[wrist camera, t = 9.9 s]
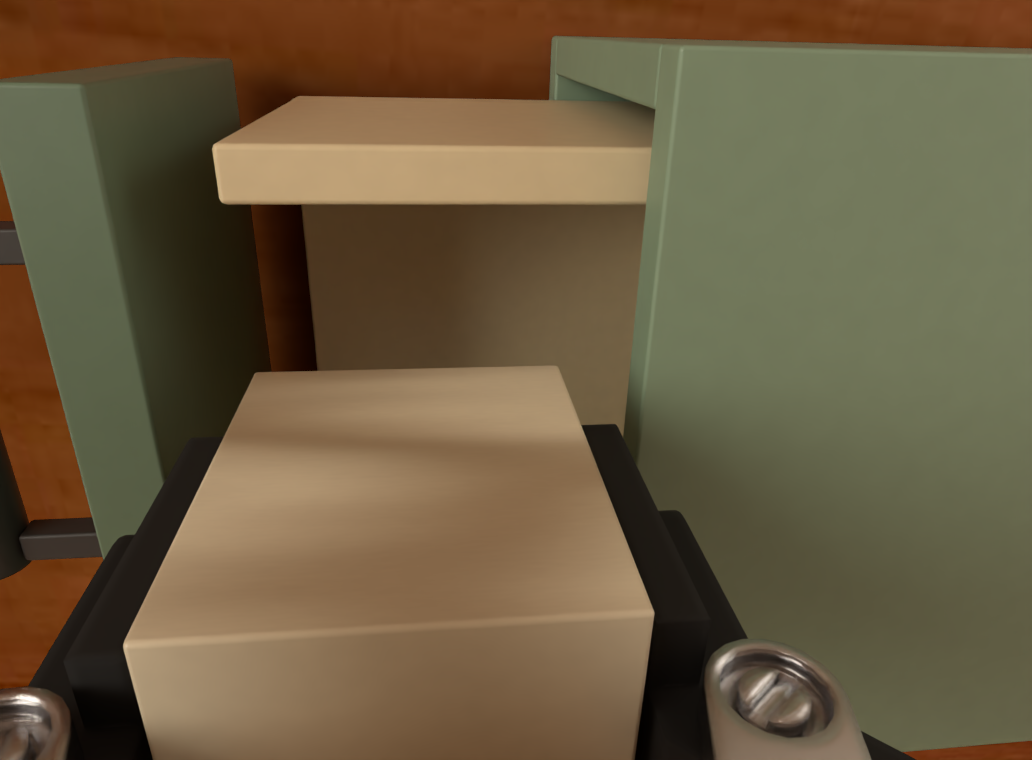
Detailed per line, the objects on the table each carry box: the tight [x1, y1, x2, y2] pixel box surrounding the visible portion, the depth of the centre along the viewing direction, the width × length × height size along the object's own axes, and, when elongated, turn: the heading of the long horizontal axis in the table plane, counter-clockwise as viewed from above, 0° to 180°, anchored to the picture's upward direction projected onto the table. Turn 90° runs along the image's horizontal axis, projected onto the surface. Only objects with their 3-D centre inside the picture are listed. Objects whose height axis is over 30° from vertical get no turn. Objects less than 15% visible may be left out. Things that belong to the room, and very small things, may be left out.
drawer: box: [0, 57, 655, 580], centre depth 15 cm, size 18×11×8 cm, turn 89°
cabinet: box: [549, 36, 1032, 752], centre depth 16 cm, size 15×13×10 cm
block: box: [123, 366, 655, 760], centre depth 9 cm, size 4×4×5 cm
